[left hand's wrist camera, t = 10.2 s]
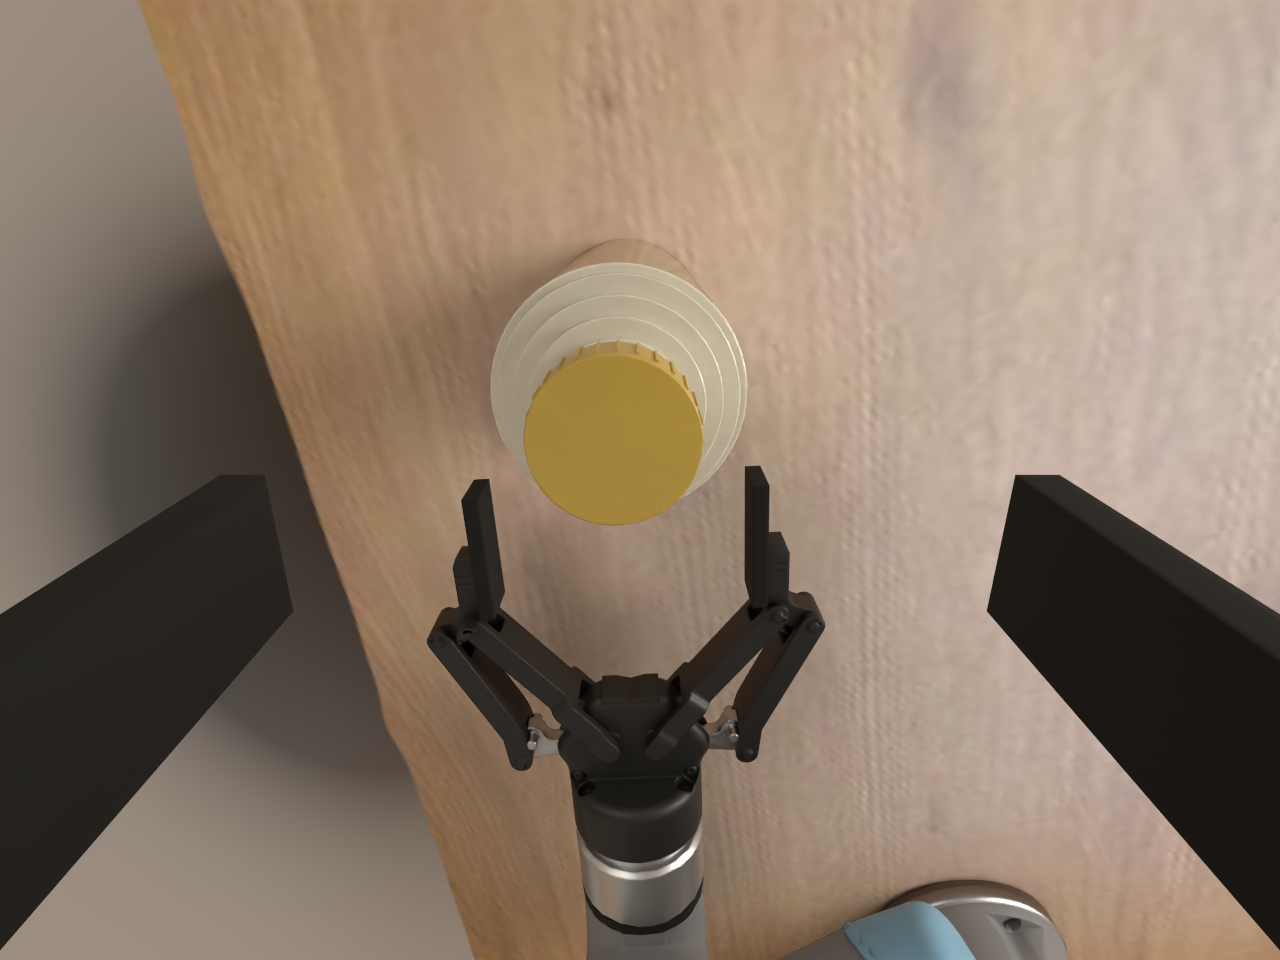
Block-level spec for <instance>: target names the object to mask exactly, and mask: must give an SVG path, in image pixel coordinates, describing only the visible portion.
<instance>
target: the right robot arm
mask: <svg viewBox="0 0 1280 960" xmlns="http://www.w3.org/2000/svg"><path fill="white" fill-rule="evenodd" d="M461 502H462V509H463V515H464V521H465V528H466V534H467V540H468V546H462V547H461V549H460V551H459V553H458V555H457V557H456V559H455V562H454V565H453V573H454V578H455V585H456V591H457V596H458V602H459V607H457V608H451V607H448V608H444V609H443V610H442V611H441V613H440V615H439V616H438V618H437V620H436V622H435V624H434V626H433V628H432V630H431V633H430V635H429V637H428V639H427V644H428V646H429V648H430V649H431V650H432V652H433V653H434V654H435V655H436V657H437V658H438V659H439V660H440V662H441V663H442V664H443V665H444V667H445V668H446V669H447V670H448V672H449V673H450V674H451V675H452V677H453V678H454V679H455V680H456V682H457V683H458V684H459V685H460V687H461V688H462V689H463V690H464V692H465V693H466V694H467V695H468V697H469V698H470V699H471V700H472V702H473V703H474V704H475V705H476V707H477V708H478V709H479V710H480V712H481V713H482V714H483V715H484V717H485V718H486V719H487V720H488V722H489V723H490V724H491V725H492V727H493V728H494V729H495V730H496V732H497V733H498V734H499V735H500V737H501V738H502V739H503V741H504V744H505V747H506V750H507V754H508V757H509V760H510V764H511V766H512V767H513V768H514V769H516V770H519V771H525V770H528V769H529V768H530V767H531V765H532V761H533V758H534V757H542V756H549V755H557V754H560V756H561V757H562V758H563V760H564V761H565V762H566V763H567V765H568V767H569V771H570V779H571V787H572V796H573V804H574V813H575V821H576V825H577V831H576V832H577V840H578V848H579V856H580V863H581V871H582V881H583V887H584V893H585V902H586V916H587V958H586V960H708V953H707V942H706V927H705V909H704V893H703V872H704V854H703V823H702V817H701V815H702V788H701V760H702V758H703V756H704V754H705V753H706V751H707V750H708V749H727V750H735V751H736V757H737V758H738V760H740V761H742V762H751V761H753V760H755V759H756V758H757V755H758V750H759V744H760V738H761V731H762V729H763V727H764V725H765V724H766V722H767V721H768V719H769V717H770V716H771V714H772V713H773V711H774V709H775V708H776V706H777V705H778V703H779V701H780V700H781V698H782V697H783V695H784V693H785V692H786V690H787V689H788V687H789V685H790V684H791V682H792V681H793V679H794V677H795V676H796V674H797V673H798V671H799V669H800V668H801V666H802V664H803V663H804V661H805V660H806V658H807V656H808V655H809V653H810V652H811V650H812V648H813V647H814V645H815V644H816V642H817V640H818V639H819V637H820V636H821V634H822V632H823V631H824V628H825V622H824V620H823V618H822V615H821V613H820V611H819V609H818V606H817V604H816V602H815V600H814V598H813V596H812V595H811V594H810V593H808V592H799V593H793V592H790V591H789V557H790V553H789V550H788V548H787V546H786V543H785V541H784V539H783V537H782V534H781V532H769V484H768V482H767V480H766V477H765V475H764V473H763V471H762V469H761V467H760V466H745V584H746V587H747V591H748V594H749V598H750V599H749V600H748V601H747V602H746V603H745V604H744V605H743V606H742V607H741V608H740V609H739V610H738V611H737V612H736V613H735V614H734V616H733V617H732V618H731V619H730V620H729V621H728V622H727V623H726V624H725V625H724V626H723V627H722V628H721V629H720V630H719V631H718V633H717V634H716V635H715V636H714V637H713V638H712V639H711V640H710V641H709V642H708V643H707V644H706V645H705V646H704V647H703V648H702V650H701V651H700V652H699V653H698V654H697V655H696V656H695V657H694V658H693V659H692V660H691V661H690V662H689V663H687V662H684V663H683V664H682V665H681V666H680V667H679V668H678V669H677V670H676V671H675V672H674V673H673V674H672V676H671V677H670V678H669V679H668V680H665V679H662V678H658V674H643V675H639V676H635V677H632V678H628V677H623V676H617V675H612V676H603V677H602V680H601V681H598V682H596V683H595V682H594V681H593V680H591V679H590V678H589V677H588V676H587V675H586V674H584V673H583V672H582V671H581V670H580V669H578V668H577V667H572V668H571V667H569V666H568V665H567V664H566V663H564V662H563V661H562V660H561V659H560V658H559V657H557V656H556V655H555V654H554V653H553V652H551V651H550V650H549V649H548V648H547V647H546V646H544V645H543V644H542V643H541V642H540V641H539V640H537V639H536V638H535V637H534V636H533V635H532V634H530V633H529V632H528V631H527V630H526V629H525V628H523V627H522V626H521V625H520V624H519V623H518V622H516V621H515V620H514V619H513V618H512V617H510V616H509V615H508V614H507V613H506V612H505V611H503V610H502V609H501V608H500V604H501V601H502V598H503V596H504V593H505V589H504V582H503V575H502V568H501V560H500V553H499V546H498V539H497V532H496V525H495V518H494V511H493V504H492V497H491V490H490V482H489V479H478V480H474V481H473V482H472V484H471V486H470V487H469V489H468V490H467V492H466V494H465V495H464V497H463V499H462V500H461ZM762 648H763V649H762ZM761 649H762V651H761V652H760V654H759V656H758V657H757V659H756V661H755V663H754V664H753V666H752V668H751V669H750V671H749V673H748V674H747V676H746V678H745V679H744V681H743V683H742V684H741V686H740V688H739V690H738V692H737V694H736V697H735V700H734V704H733V706H731V705H728V706H726V707H725V708H724V712H723V713H722V714H721V716H720V718H719V719H718V720H717V721H716V722H714V723H707V722H706V720H705V718H704V717H703V715H704V714H705V713H706V711H707V709H708V705H709V703H710V701H711V700H712V699H713V698H714V697H715V696H716V695H717V694H718V693H719V692H720V691H721V690H722V689H723V688H724V687H725V686H726V685H727V684H728V683H729V682H730V681H731V680H732V679H733V677H734V676H735V675H736V674H737V673H738V672H739V671H740V670H741V669H742V668H743V667H744V666H745V665H746V664H747V663H748V662H749V661H750V660H751V659H752V658H753V657H754V656H755V655H756V654H757V653H758V652H759V651H760V650H761ZM505 671H506V672H507V673H508V674H509V675H510V676H512V677H513V678H514V679H515V680H517V681H518V682H519V683H520V684H521V685H523V686H524V687H525V688H526V689H527V690H529V691H530V692H531V693H532V694H534V695H535V696H536V697H537V698H538V699H540V700H541V701H542V702H543V703H544V704H546V705H547V706H548V707H549V708H550V709H551V711H552V714H553V716H554V718H555V719H556V720H557V721H558V722H559V723H560V724H561V727H560V729H552V728H550V727H548V726H547V724H546V723H545V721H544V720H543V719H542V715H541V714H540V713H534V714H533V712H532V709H531V707H530V705H529V703H528V701H527V700H526V698H525V697H524V695H523V694H522V693H521V691H520V690H519V689H518V688H517V686H516V685H515V684H514V682H513V681H512V680H511V678H510V677H509V676H508V674H507V673H506V672H505ZM842 927H843V928H842V929H840V930H838V931H836V932H834V933H831V934H829V935H827V936H825V937H823V938H821V939H819V940H817V941H815V942H813V943H811V944H809V945H807V946H805V947H803V948H801V949H799V950H797V951H795V952H793V953H791V954H789V955H787V956H785V957H783V958H781V959H779V960H1069V958H1068V954H1067V949H1066V945H1065V942H1064V940H1063V938H1062V936H1061V935H1060V933H1059V931H1058V929H1057V928H1056V926H1055V924H1054V923H1053V921H1052V919H1051V917H1050V916H1049V914H1048V912H1047V911H1046V910H1045V908H1044V907H1043V906H1042V905H1041V904H1040V903H1039V902H1038V901H1037V900H1036V899H1034V898H1033V897H1032V896H1030V895H1029V894H1027V893H1025V892H1023V891H1021V890H1019V889H1017V888H1014V887H1012V886H1009V885H1005V884H1002V883H997V882H991V881H983V880H960V881H951V882H944V883H940V884H935V885H931V886H928V887H925V888H922V889H919V890H916V891H914V892H911V893H909V894H907V895H905V896H903V897H901V898H900V899H898V900H896V901H894V902H893V903H891V904H890V905H888V906H887V907H886V908H884V909H883V910H882V911H881V912H878V913H875V914H873V915H870V916H867V917H864V918H861V919H858V920H855V921H852V922H850V921H849V922H845V923H844V924H843V925H842Z"/></svg>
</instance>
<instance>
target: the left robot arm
mask: <svg viewBox="0 0 1280 960" xmlns="http://www.w3.org/2000/svg"><path fill="white" fill-rule="evenodd" d="M292 612H293V608H292V603H291V598H290V594H289V589H288V584H287V580H286V575H285V570H284V565H283V560H282V556H281V551H280V546H279V542H278V537H277V532H276V527H275V523H274V518H273V513H272V508H271V504H270V499H269V494H268V489H267V485H266V480H265V475H220V476H218V477H217V478H215V479H213V480H212V481H210V482H209V483H207V484H206V485H204V486H202V487H201V488H199V489H198V490H196V491H195V492H193V493H191V494H190V495H188V496H187V497H185V498H183V499H182V500H180V501H179V502H177V503H176V504H174V505H172V506H171V507H169V508H168V509H166V510H164V511H163V512H161V513H160V514H158V515H157V516H155V517H153V518H152V519H150V520H149V521H147V522H145V523H144V524H142V525H141V526H139V527H138V528H136V529H134V530H133V531H131V532H130V533H128V534H127V535H125V536H123V537H122V538H120V539H119V540H117V541H116V542H114V543H112V544H111V545H109V546H108V547H106V548H104V549H103V550H101V551H100V552H98V553H96V554H95V555H93V556H92V557H90V558H89V559H87V560H85V561H84V562H82V563H81V564H79V565H78V566H76V567H74V568H73V569H71V570H70V571H68V572H67V573H65V574H63V575H62V576H60V577H59V578H57V579H55V580H54V581H52V582H51V583H49V584H47V585H46V586H44V587H43V588H41V589H40V590H38V591H36V592H35V593H33V594H32V595H30V596H29V597H27V598H25V599H24V600H22V601H21V602H19V603H17V604H16V605H14V606H13V607H11V608H10V609H8V610H6V611H5V612H3V613H2V614H0V950H1V949H2V947H3V946H4V945H5V944H6V943H7V942H8V941H9V939H10V938H11V937H12V936H13V935H14V934H15V932H16V931H17V930H18V929H19V928H20V927H21V925H22V924H23V923H24V922H25V921H26V920H27V919H28V917H29V916H30V915H31V914H32V913H33V912H34V910H35V909H36V908H37V907H38V906H39V905H40V903H41V902H42V901H43V900H44V899H45V898H46V897H47V895H48V894H49V893H50V892H51V891H52V890H53V888H54V887H55V886H56V885H57V884H58V883H59V881H60V880H61V879H62V878H63V877H64V876H65V875H66V873H67V872H68V871H69V870H70V869H71V868H72V866H73V865H74V864H75V863H76V862H77V861H78V860H79V858H80V857H81V856H82V855H83V854H84V853H85V851H86V850H87V849H88V848H89V847H90V846H91V844H92V843H93V842H94V841H95V840H96V839H97V838H98V836H99V835H100V834H101V833H102V832H103V831H104V829H105V828H106V827H107V826H108V825H109V824H110V822H111V821H112V820H113V819H114V818H115V817H116V816H117V814H118V813H119V812H120V811H121V810H122V808H123V807H124V806H125V805H126V804H127V803H128V802H129V800H130V799H131V798H132V797H133V796H134V795H135V794H136V792H137V791H138V790H139V789H140V788H141V787H142V785H143V784H144V783H145V782H146V781H147V780H148V778H149V777H150V776H151V775H152V774H153V773H154V772H155V770H156V769H157V768H158V767H159V766H160V764H161V763H162V762H163V761H164V760H165V759H166V758H167V757H168V755H169V754H170V753H171V752H172V751H173V750H174V748H175V747H176V746H177V745H178V744H179V743H180V741H181V740H182V739H183V738H184V737H185V736H186V735H187V733H188V732H189V731H190V730H191V729H192V728H193V726H194V725H195V724H196V723H197V722H198V721H199V719H200V718H201V717H202V716H203V715H204V714H205V713H206V711H207V710H208V709H209V708H210V707H211V706H212V704H213V703H214V702H215V701H216V700H217V699H218V697H219V696H220V695H221V694H222V693H223V692H224V691H225V689H226V688H227V687H228V686H229V685H230V684H231V682H232V681H233V680H234V679H235V678H236V677H237V676H238V674H239V673H240V672H241V671H242V670H243V669H244V667H245V666H246V665H247V664H248V663H249V662H250V660H251V659H252V658H253V657H254V656H255V655H256V654H257V652H258V651H259V650H260V649H261V648H262V647H263V645H264V644H265V643H266V642H267V641H268V640H269V638H270V637H271V636H272V635H273V634H274V633H275V631H276V630H277V629H278V628H279V627H280V626H281V625H282V623H283V622H284V621H285V620H286V619H287V618H288V616H289V615H290V614H291V613H292ZM987 612H988V613H989V614H990V615H991V616H992V618H993V619H994V620H995V621H996V622H997V623H998V625H999V626H1000V627H1001V628H1002V629H1003V630H1004V632H1005V633H1006V634H1007V635H1008V636H1009V637H1010V638H1011V640H1012V641H1013V642H1014V643H1015V644H1016V645H1017V647H1018V648H1019V649H1020V650H1021V651H1022V652H1023V654H1024V655H1025V656H1026V657H1027V658H1028V659H1029V660H1030V662H1031V663H1032V664H1033V665H1034V666H1035V667H1036V669H1037V670H1038V671H1039V672H1040V673H1041V674H1042V676H1043V677H1044V678H1045V679H1046V680H1047V681H1048V682H1049V684H1050V685H1051V686H1052V687H1053V688H1054V689H1055V691H1056V692H1057V693H1058V694H1059V695H1060V696H1061V697H1062V699H1063V700H1064V701H1065V702H1066V703H1067V704H1068V706H1069V707H1070V708H1071V709H1072V710H1073V711H1074V713H1075V714H1076V715H1077V716H1078V717H1079V718H1080V719H1081V721H1082V722H1083V723H1084V724H1085V725H1086V726H1087V728H1088V729H1089V730H1090V731H1091V732H1092V733H1093V735H1094V736H1095V737H1096V738H1097V739H1098V740H1099V741H1100V743H1101V744H1102V745H1103V746H1104V747H1105V748H1106V750H1107V751H1108V752H1109V753H1110V754H1111V755H1112V757H1113V758H1114V759H1115V760H1116V761H1117V762H1118V763H1119V765H1120V766H1121V767H1122V768H1123V769H1124V770H1125V772H1126V773H1127V774H1128V775H1129V776H1130V777H1131V779H1132V780H1133V781H1134V782H1135V783H1136V784H1137V785H1138V787H1139V788H1140V789H1141V790H1142V791H1143V792H1144V794H1145V795H1146V796H1147V797H1148V798H1149V799H1150V801H1151V802H1152V803H1153V804H1154V805H1155V806H1156V807H1157V809H1158V810H1159V811H1160V812H1161V813H1162V814H1163V816H1164V817H1165V818H1166V819H1167V820H1168V821H1169V822H1170V824H1171V825H1172V826H1173V827H1174V828H1175V829H1176V831H1177V832H1178V833H1179V834H1180V835H1181V836H1182V838H1183V839H1184V840H1185V841H1186V842H1187V843H1188V844H1189V846H1190V847H1191V848H1192V849H1193V850H1194V851H1195V853H1196V854H1197V855H1198V856H1199V857H1200V858H1201V860H1202V861H1203V862H1204V863H1205V864H1206V865H1207V866H1208V868H1209V869H1210V870H1211V871H1212V872H1213V873H1214V875H1215V876H1216V877H1217V878H1218V879H1219V880H1220V882H1221V883H1222V884H1223V885H1224V886H1225V887H1226V888H1227V890H1228V891H1229V892H1230V893H1231V894H1232V895H1233V897H1234V898H1235V899H1236V900H1237V901H1238V902H1239V904H1240V905H1241V906H1242V907H1243V908H1244V909H1245V910H1246V912H1247V913H1248V914H1249V915H1250V916H1251V917H1252V919H1253V920H1254V921H1255V922H1256V923H1257V924H1258V925H1259V927H1260V928H1261V929H1262V930H1263V931H1264V932H1265V934H1266V935H1267V936H1268V937H1269V938H1270V939H1271V941H1272V942H1273V943H1274V944H1275V945H1276V946H1277V947H1278V949H1279V950H1280V614H1278V613H1277V612H1275V611H1274V610H1272V609H1270V608H1269V607H1267V606H1266V605H1264V604H1263V603H1261V602H1259V601H1258V600H1256V599H1255V598H1253V597H1251V596H1250V595H1248V594H1247V593H1245V592H1244V591H1242V590H1240V589H1239V588H1237V587H1236V586H1234V585H1233V584H1231V583H1229V582H1228V581H1226V580H1225V579H1223V578H1221V577H1220V576H1218V575H1217V574H1215V573H1214V572H1212V571H1210V570H1209V569H1207V568H1206V567H1204V566H1202V565H1201V564H1199V563H1198V562H1196V561H1195V560H1193V559H1191V558H1190V557H1188V556H1187V555H1185V554H1184V553H1182V552H1180V551H1179V550H1177V549H1176V548H1174V547H1172V546H1171V545H1169V544H1168V543H1166V542H1165V541H1163V540H1161V539H1160V538H1158V537H1157V536H1155V535H1153V534H1152V533H1150V532H1149V531H1147V530H1146V529H1144V528H1142V527H1141V526H1139V525H1138V524H1136V523H1135V522H1133V521H1131V520H1130V519H1128V518H1127V517H1125V516H1123V515H1122V514H1120V513H1119V512H1117V511H1116V510H1114V509H1112V508H1111V507H1109V506H1108V505H1106V504H1104V503H1103V502H1101V501H1100V500H1098V499H1097V498H1095V497H1093V496H1092V495H1090V494H1089V493H1087V492H1086V491H1084V490H1082V489H1081V488H1079V487H1078V486H1076V485H1074V484H1073V483H1071V482H1070V481H1068V480H1067V479H1065V478H1063V477H1062V476H1060V475H1015V480H1014V485H1013V489H1012V494H1011V499H1010V504H1009V508H1008V513H1007V518H1006V523H1005V527H1004V532H1003V537H1002V541H1001V546H1000V551H999V556H998V560H997V565H996V570H995V575H994V579H993V584H992V589H991V594H990V598H989V603H988V608H987Z"/></svg>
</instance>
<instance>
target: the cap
mask: <svg viewBox="0 0 1280 960" xmlns="http://www.w3.org/2000/svg"><path fill="white" fill-rule="evenodd" d="M542 382H543V384H542V385H540V384H539V386H538V388H537V389H536V391H535V393H534V395H533V396H532V399H533V402H532V404H531V406H530V408H529V410H528V411H527V413H526V416H525V417H526V422H525V427H524V450H525V455H526V460H527V464H528V466H529V469H530V471H531V474H532V476H533V477H534V479H535V481H536V483H537V484H538V486H539V487H540V488H541V490H542V491H543V492H544V494H545V495H546V496H547V497H548V498H549V499H550V500H551V501H552V502H554V503H555V504H556V505H557V506H558V507H560V508H561V509H563V510H564V511H566V512H567V513H569V514H571V515H573V516H575V517H577V518H579V519H582V520H585V521H588V522H592V523H597V524H603V525H626V524H633V523H637V522H641V521H644V520H647V519H649V518H652V517H654V516H656V515H658V514H660V513H661V512H663V511H665V510H666V509H668V508H669V507H670V506H672V505H673V504H674V503H675V502H676V501H677V500H678V499H679V498H680V497H681V496H682V495H683V494H684V493H685V492H686V490H687V489H688V488H689V486H690V485H691V483H692V481H693V480H694V478H695V475H696V473H697V471H698V468H699V465H700V462H701V458H702V451H703V444H704V439H703V431H702V425H704V423H703V420H702V416H701V413H700V409H697V407H698V406H699V405H698V402H697V398H696V395H695V392H694V391H693V392H692V391H691V389H690V387H689V385H688V382H687V378H686V376H685V375H683V376H682V374H681V373H680V372H679V371H678V369H677V368H676V367H675V366H674V362H673V361H670V362H669V361H668V360H667V359H665V358H664V357H662V356H661V355H660V354H658V351H657V350H655V351H652V350H650V349H648V348H645V347H642V346H640V343H636V344H631V343H625V342H620V340H617V342H604V343H601V341H597V344H593V345H590V346H587V347H584V348H582V346H581V347H579V348H578V350H577V351H575V352H573V353H572V354H570V355H569V356H567V357H565V356H563V357H562V358H561V360H560V362H559V363H558V364H557V365H556V366H555V367H554V368H553V370H551V369H549V370H548V372H547V374H546V376H545V377H544V379H543V381H542Z"/></svg>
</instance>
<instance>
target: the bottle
mask: <svg viewBox="0 0 1280 960" xmlns="http://www.w3.org/2000/svg"><path fill="white" fill-rule="evenodd" d="M617 340H620V342H625V343H631V344H636V343H640V346H642V347H645V348H648V349H650V350H652V351H655V350H657V351H658V354H660V355H661V356H662V357H664V358H665V359H667V360H668V361H669V362H670V361H673V362H674V366H675V367H676V368H677V369H678V371H679V372H680V373H681V374H682V376H683V375H685V376H686V378H687V382H688V385H689V387H690V389H691V391H692V392H693V391H694V392H695V395H696V398H697V402H698V405H699V406H698V407H697V409H700V413H701V416H702V420H703V423H704V425H702V431H703V439H704V444H703V451H702V458H701V462H700V465H699V468H698V471H697V473H696V475H695V478H694V480H693V481H692V483H691V485H690V486H689V488H688V489H687V490H686V492H685V493H684V494H683V495H682V496H681V497H680V498H679V499H681V498H683V497H685V496H686V495H688V494H690V493H692V492H693V491H694V490H696V489H697V488H698V487H700V486H701V485H702V484H704V483H705V482H706V481H707V480H708V479H709V478H710V477H711V476H712V475H713V474H714V473H715V472H716V471H717V470H718V468H719V467H720V466H721V465H722V463H723V462H724V461H725V459H726V458H727V456H728V455H729V453H730V451H731V450H732V448H733V446H734V444H735V442H736V440H737V437H738V435H739V433H740V430H741V427H742V423H743V420H744V416H745V411H746V404H747V375H746V367H745V363H744V359H743V355H742V351H741V348H740V346H739V343H738V341H737V338H736V336H735V334H734V332H733V330H732V329H731V327H730V325H729V323H728V322H727V320H726V319H725V317H724V316H723V315H722V313H721V312H720V311H719V310H718V308H717V307H716V306H715V304H714V303H713V302H712V301H711V299H710V298H709V297H708V295H707V294H706V293H705V292H704V290H703V289H702V288H701V286H700V285H699V284H698V283H697V281H696V280H695V279H694V278H693V276H692V275H691V274H690V272H689V271H688V270H687V269H686V267H685V266H684V265H683V264H682V263H681V262H680V261H679V260H678V259H677V258H676V257H675V256H673V255H672V254H671V253H669V252H668V251H666V250H665V249H663V248H661V247H659V246H657V245H654V244H652V243H649V242H645V241H640V240H631V239H625V240H615V241H609V242H606V243H603V244H600V245H598V246H596V247H594V248H592V249H590V250H588V251H587V252H585V253H584V254H582V255H581V256H580V257H578V258H577V259H576V260H575V261H573V262H572V263H571V264H569V265H568V266H567V267H566V268H564V269H563V270H562V271H560V272H559V273H558V274H557V275H555V276H554V277H553V278H551V279H550V280H549V281H548V282H546V283H545V284H544V285H542V286H541V287H540V288H539V289H537V290H536V291H535V292H534V293H533V294H532V295H531V296H530V297H528V298H527V299H526V300H525V301H524V302H523V304H522V305H521V306H520V307H519V308H518V310H517V311H516V312H515V313H514V314H513V316H512V318H511V319H510V321H509V322H508V324H507V325H506V327H505V329H504V331H503V333H502V335H501V338H500V340H499V342H498V345H497V348H496V351H495V355H494V358H493V363H492V370H491V376H490V395H491V403H492V410H493V414H494V418H495V422H496V426H497V428H498V431H499V433H500V436H501V438H502V440H503V442H504V444H505V446H506V448H507V449H508V451H509V453H510V455H511V456H512V457H513V459H514V460H515V461H516V463H517V464H518V465H519V467H520V468H521V469H522V470H523V471H524V472H525V473H526V474H527V475H528V476H529V477H530V478H531V479H532V480H533V481H534V482H535V483H536V481H535V479H534V477H533V476H532V474H531V471H530V469H529V466H528V464H527V460H526V455H525V450H524V427H525V422H526V417H525V416H526V413H527V411H528V410H529V408H530V406H531V404H532V402H533V399H532V396H533V395H534V393H535V391H536V389H537V388H538V386H539V384H540V385H542V384H543V382H542V381H543V379H544V377H545V376H546V374H547V372H548V370H549V369H551V370H553V368H554V367H555V366H556V365H557V364H558V363H559V362H560V360H561V358H562V357H563V356H565V357H567V356H569V355H570V354H572V353H573V352H575V351H577V350H578V348H579V347H581V346H582V348H584V347H587V346H590V345H593V344H597V341H601V343H604V342H617ZM679 499H678V500H679Z"/></svg>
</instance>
